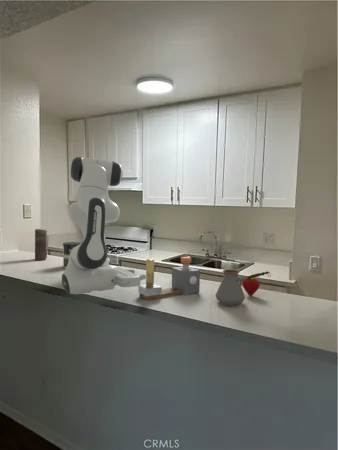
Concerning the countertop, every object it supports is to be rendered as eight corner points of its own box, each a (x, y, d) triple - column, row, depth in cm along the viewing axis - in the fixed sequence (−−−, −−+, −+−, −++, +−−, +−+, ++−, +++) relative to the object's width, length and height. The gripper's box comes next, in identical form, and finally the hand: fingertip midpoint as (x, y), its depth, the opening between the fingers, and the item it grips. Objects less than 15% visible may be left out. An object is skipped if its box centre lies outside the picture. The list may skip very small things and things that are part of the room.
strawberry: (244, 292, 139) (245, 270, 138) (261, 295, 135) (262, 273, 134) (239, 295, 134) (240, 272, 133) (256, 299, 130) (257, 275, 129)
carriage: (138, 292, 130) (138, 259, 129) (152, 289, 134) (153, 257, 133) (146, 296, 124) (147, 261, 123) (161, 293, 128) (162, 260, 127)
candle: (39, 258, 210) (39, 228, 208) (49, 258, 208) (49, 229, 207) (32, 260, 202) (32, 229, 201) (43, 260, 201) (42, 230, 199)
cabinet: (171, 289, 142) (172, 267, 141) (185, 287, 146) (186, 266, 145) (185, 295, 133) (186, 272, 132) (200, 292, 137) (200, 270, 136)
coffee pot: (210, 303, 123) (211, 266, 122) (223, 296, 132) (224, 261, 131) (263, 316, 110) (264, 274, 109) (273, 307, 119) (275, 269, 118)
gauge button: (178, 281, 140) (178, 257, 139) (186, 280, 142) (187, 256, 142) (184, 284, 136) (185, 259, 135) (192, 282, 139) (193, 258, 138)
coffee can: (83, 267, 185) (83, 243, 184) (66, 269, 179) (66, 244, 178) (76, 264, 193) (76, 241, 192) (60, 266, 187) (60, 242, 186)
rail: (139, 296, 130) (139, 293, 130) (173, 290, 140) (173, 287, 140) (146, 300, 125) (146, 296, 125) (181, 294, 135) (181, 290, 135)
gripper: (118, 275, 109) (152, 271, 117) (97, 265, 126) (128, 261, 134) (118, 293, 110) (152, 288, 117) (97, 280, 127) (128, 276, 134)
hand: (139, 274), depth 126 cm, fingers open, 8 cm apart
